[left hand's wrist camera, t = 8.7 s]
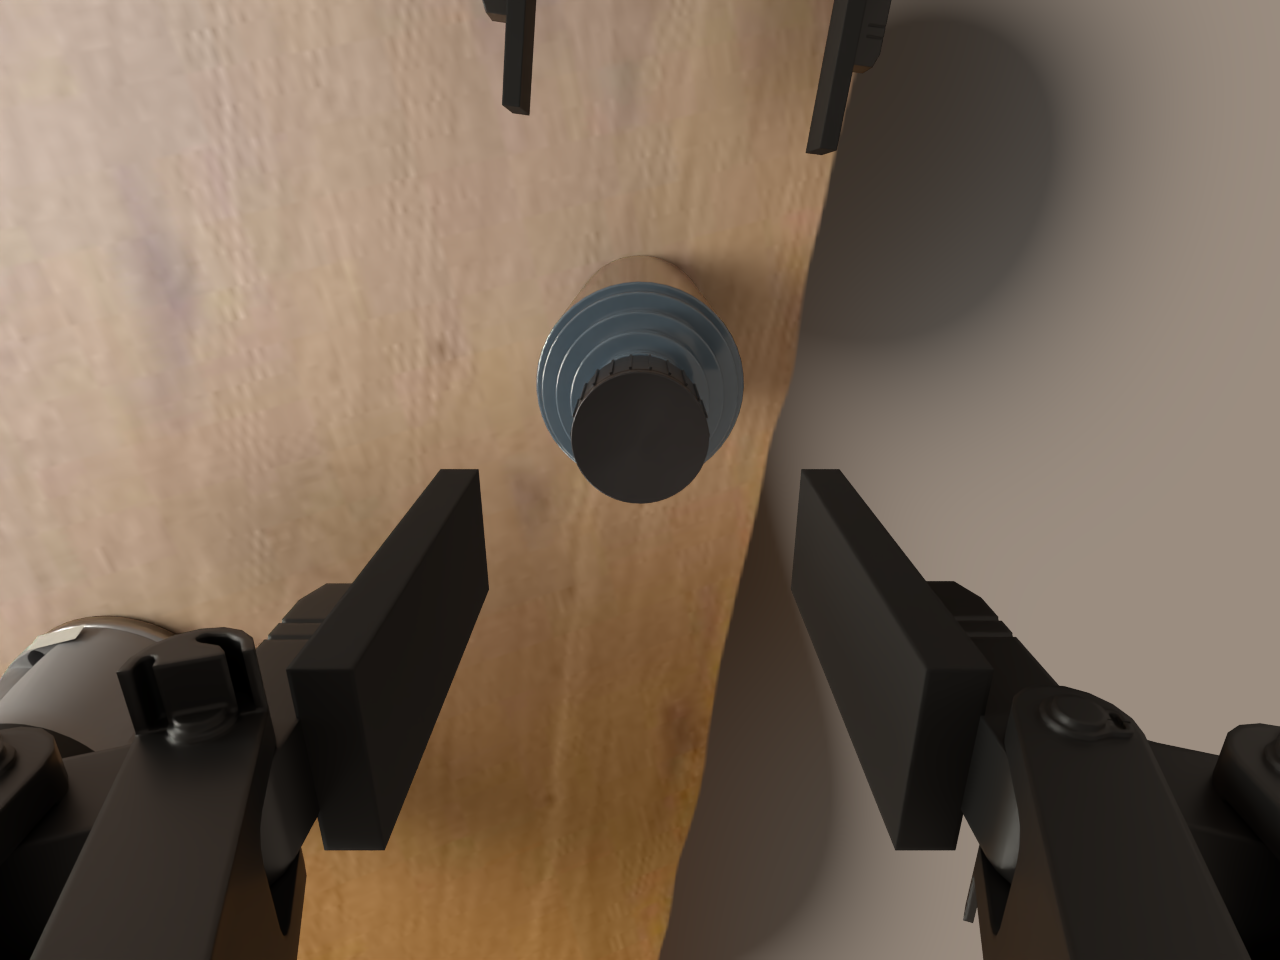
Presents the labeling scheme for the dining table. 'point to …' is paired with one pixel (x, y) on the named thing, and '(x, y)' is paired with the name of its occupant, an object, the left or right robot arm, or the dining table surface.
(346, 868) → the dining table surface
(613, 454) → the cap
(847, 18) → the right robot arm
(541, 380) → the bottle
